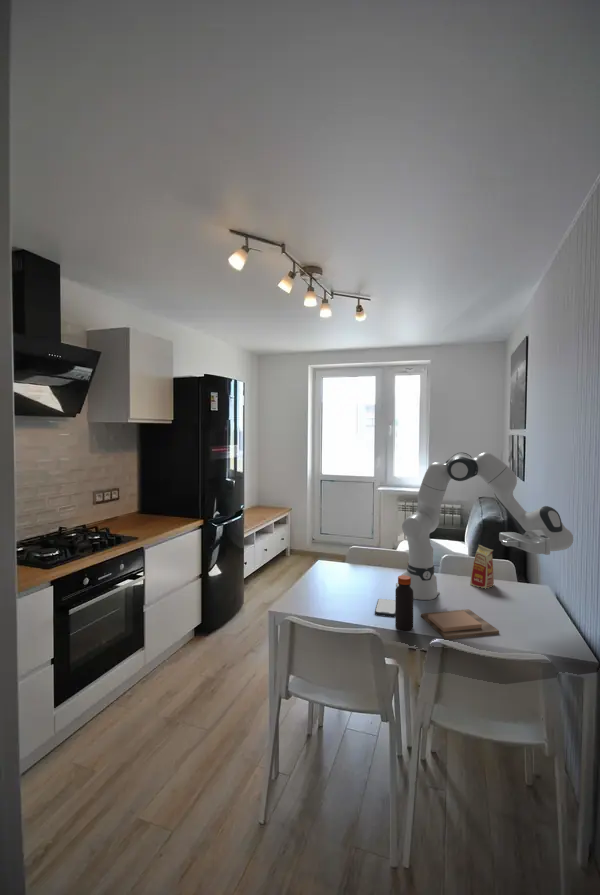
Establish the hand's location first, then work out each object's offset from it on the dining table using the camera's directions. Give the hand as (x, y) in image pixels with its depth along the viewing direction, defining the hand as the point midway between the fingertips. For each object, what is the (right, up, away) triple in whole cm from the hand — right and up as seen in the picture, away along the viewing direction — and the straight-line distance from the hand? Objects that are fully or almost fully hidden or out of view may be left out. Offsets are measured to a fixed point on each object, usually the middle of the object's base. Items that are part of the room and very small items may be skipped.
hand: (503, 543), depth 171 cm
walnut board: (-19, -32, -1) cm, 37 cm away
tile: (-13, -31, -1) cm, 33 cm away
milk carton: (+10, -31, +42) cm, 53 cm away
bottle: (-41, -33, -3) cm, 52 cm away
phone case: (-44, -32, +15) cm, 57 cm away
